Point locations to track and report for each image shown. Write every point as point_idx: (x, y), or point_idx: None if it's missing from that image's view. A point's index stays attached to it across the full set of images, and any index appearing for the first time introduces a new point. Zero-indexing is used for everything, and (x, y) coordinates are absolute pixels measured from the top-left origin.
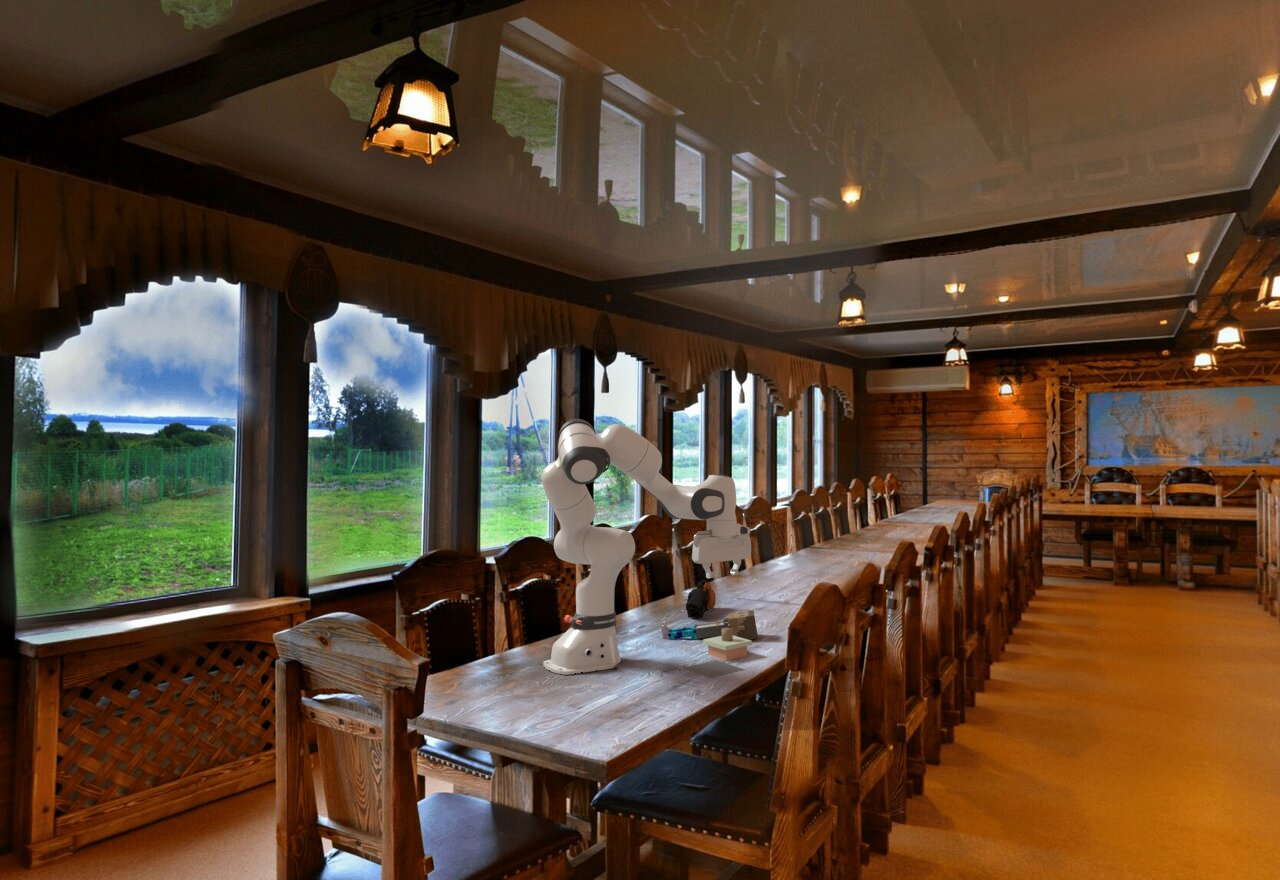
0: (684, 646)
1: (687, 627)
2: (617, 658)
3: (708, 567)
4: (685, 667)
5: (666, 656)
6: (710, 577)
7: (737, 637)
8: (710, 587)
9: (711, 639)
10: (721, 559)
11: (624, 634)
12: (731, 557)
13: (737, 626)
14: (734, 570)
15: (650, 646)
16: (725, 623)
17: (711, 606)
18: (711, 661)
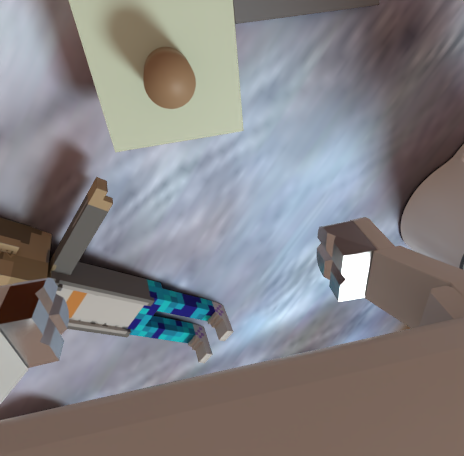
0: (212, 236)
1: (150, 332)
2: (449, 172)
3: (454, 276)
4: (371, 2)
5: (309, 173)
6: (360, 218)
7: (105, 88)
8: None
9: (217, 115)
10: (313, 375)
11: (270, 357)
12: (65, 450)
13: (19, 255)
14: (34, 308)
15: (283, 266)
16: (57, 282)
17: None
18: (259, 18)
